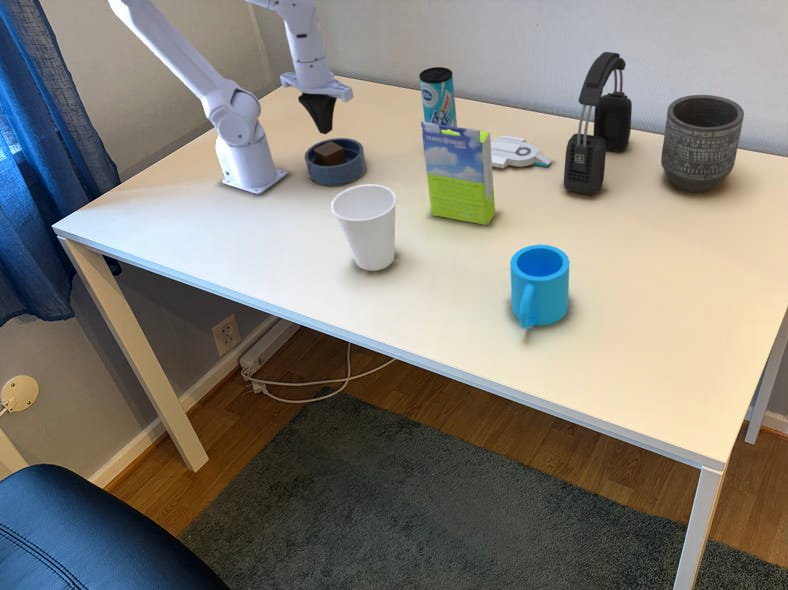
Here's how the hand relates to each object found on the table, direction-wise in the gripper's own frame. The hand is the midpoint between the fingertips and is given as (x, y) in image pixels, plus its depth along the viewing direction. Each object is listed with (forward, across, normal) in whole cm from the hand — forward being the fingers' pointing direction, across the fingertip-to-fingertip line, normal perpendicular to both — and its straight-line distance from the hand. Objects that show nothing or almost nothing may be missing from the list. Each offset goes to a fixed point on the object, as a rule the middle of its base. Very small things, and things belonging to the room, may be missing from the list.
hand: (326, 131), depth 131 cm
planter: (+9, -60, -26) cm, 66 cm away
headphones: (+9, -43, -23) cm, 49 cm away
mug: (+9, -52, +18) cm, 56 cm away
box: (+9, -29, +1) cm, 30 cm away
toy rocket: (+9, -27, -19) cm, 34 cm away
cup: (+9, -23, +18) cm, 31 cm away
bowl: (+8, 0, -1) cm, 9 cm away
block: (+8, +1, -1) cm, 8 cm away
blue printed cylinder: (+9, -14, -16) cm, 23 cm away
